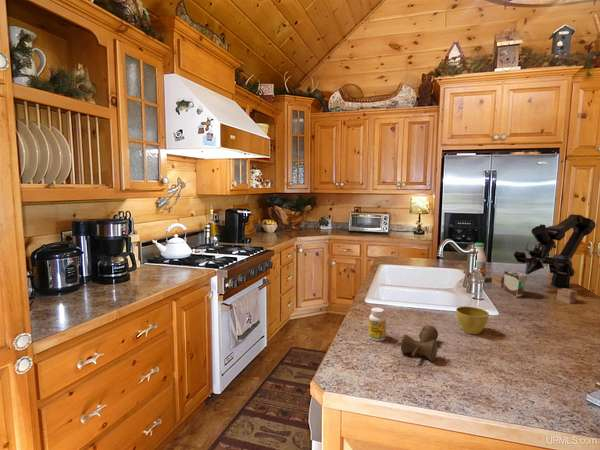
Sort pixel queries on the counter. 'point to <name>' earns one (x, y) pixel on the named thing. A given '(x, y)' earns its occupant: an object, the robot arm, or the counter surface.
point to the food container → (514, 283)
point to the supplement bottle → (377, 324)
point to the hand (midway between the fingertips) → (526, 273)
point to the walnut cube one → (498, 280)
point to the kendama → (422, 343)
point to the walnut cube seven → (566, 295)
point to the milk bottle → (481, 258)
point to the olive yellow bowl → (472, 319)
